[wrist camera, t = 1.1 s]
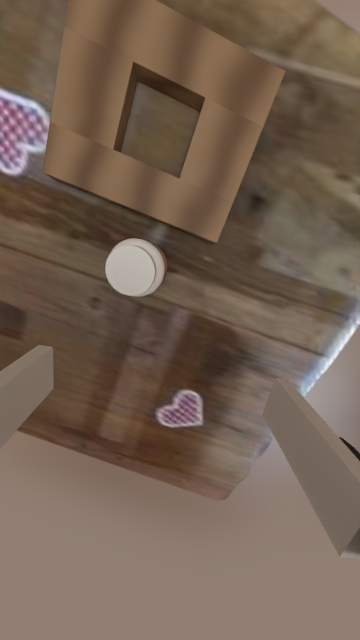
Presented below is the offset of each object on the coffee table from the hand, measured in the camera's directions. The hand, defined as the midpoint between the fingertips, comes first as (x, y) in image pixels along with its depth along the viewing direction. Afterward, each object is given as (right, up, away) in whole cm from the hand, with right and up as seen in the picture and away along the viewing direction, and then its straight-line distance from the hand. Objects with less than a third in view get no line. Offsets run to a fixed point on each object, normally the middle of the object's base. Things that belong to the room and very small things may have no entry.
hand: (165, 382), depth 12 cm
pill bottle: (-4, +12, +18) cm, 22 cm away
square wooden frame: (-2, +26, +13) cm, 29 cm away
